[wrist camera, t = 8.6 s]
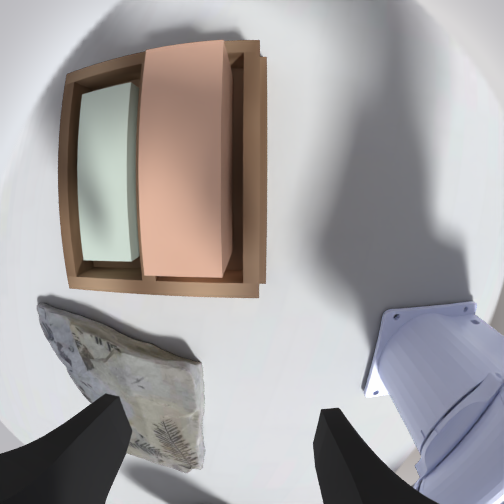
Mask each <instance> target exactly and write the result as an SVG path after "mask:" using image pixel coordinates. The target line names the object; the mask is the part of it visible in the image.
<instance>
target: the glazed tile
mask: <svg viewBox="0 0 504 504" xmlns="http://www.w3.org/2000/svg"><path fill="white" fill-rule="evenodd" d="M138 98H139V88H138V87H137V86H136V85H134V84H133V83H131V82H130V83H125V84H120V85H116V86H112V87H108V88H104V89H100V90H96V91H92V92H89V93H85V94H82V100H81V109H80V120H79V134H78V164H77V177H78V207H79V222H80V233H81V243H82V252H83V259H84V260H92V261H131V262H132V261H133V260H135V259H136V258H138V257H139V256H140V251H139V239H138V224H137V204H136V132H137V112H138Z"/></svg>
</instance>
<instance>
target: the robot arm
mask: <svg viewBox="0 0 504 504" xmlns="http://www.w3.org/2000/svg"><path fill="white" fill-rule="evenodd" d="M464 308H465V309H464ZM476 308H477V304H476V303H475V302H474V301H470V302H462V303H453V304H444V305H435V306H424V307H413V308H400V309H389V310H387V311H385V312H384V314H383V316H382V321H381V326H380V331H379V336H378V340H377V344H376V349H375V353H374V357H373V361H372V365H371V368H370V372H369V376H368V379H367V383H366V386H365V390H364V395H365V397H367V398H369V397H376V396H382V395H388V394H389V395H390V397H391V399H392V401H393V403H394V404H395V406H396V408H397V410H398V412H399V414H400V416H401V418H402V420H403V421H404V423H405V425H406V427H407V429H408V431H409V433H410V435H411V437H412V439H413V441H414V443H415V445H416V447H417V449H418V451H419V453H420V455H421V458H420V460H419V461H418V463H417V464H416V465H415V468H416V470H417V472H418V474H419V476H420V478H419V479H418V480H417V482H416V483H415V485H414V487H411V486H410V485H409V484H407V483H406V482H405V481H404V480H402V479H401V478H400V477H399V476H398V475H396V474H395V473H394V472H393V471H392V470H391V469H390V468H389V467H388V466H387V465H386V464H385V463H384V462H383V461H382V460H381V459H380V458H379V457H378V456H377V455H376V454H375V453H374V452H373V451H372V450H371V448H370V447H369V446H368V445H367V444H366V443H365V442H364V440H363V439H362V438H361V437H360V435H359V434H358V433H357V432H356V430H355V429H354V428H353V426H352V425H351V424H350V422H349V421H348V420H347V418H346V417H345V415H344V414H343V413H342V411H341V410H340V409H339V408H331V409H321V413H320V417H319V421H318V425H317V429H316V433H315V437H314V441H313V449H314V459H315V468H316V472H317V477H318V481H319V486H320V490H321V494H322V499H323V503H324V504H504V336H503V335H501V334H500V333H499V332H498V331H496V330H495V329H494V328H492V327H491V326H490V325H489V324H487V323H486V322H485V321H483V320H482V319H481V318H479V317H478V316H476V315H475V312H476ZM396 314H398V315H397V317H396V318H393V317H394V316H395V315H396ZM376 390H377V391H376ZM375 391H376V392H375ZM131 435H132V428H131V426H130V423H129V421H128V418H127V416H126V413H125V411H124V408H123V405H122V403H121V400H120V397H119V396H115V395H111V394H107V393H105V394H104V395H102V396H101V397H100V398H98V399H97V400H96V401H94V402H93V403H92V404H90V405H89V406H87V407H86V408H85V409H83V410H82V411H81V412H79V413H78V414H77V415H75V416H74V417H72V418H71V419H70V420H68V421H67V422H65V423H64V424H62V425H61V426H59V427H58V428H56V429H54V430H53V431H51V432H50V433H48V434H46V435H45V436H43V437H41V438H39V439H37V440H35V441H33V442H31V443H29V444H27V445H24V446H22V447H19V448H17V449H14V450H11V451H8V452H5V453H1V454H0V504H105V502H106V498H107V496H108V493H109V491H110V488H111V486H112V484H113V482H114V479H115V477H116V475H117V473H118V470H119V468H120V466H121V464H122V461H123V459H124V457H125V455H126V452H127V449H128V446H129V442H130V439H131Z"/></svg>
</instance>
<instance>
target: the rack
mask: <svg viewBox="0 0 504 504" xmlns="http://www.w3.org/2000/svg"><path fill="white" fill-rule="evenodd" d="M224 43H225V47H226V51H227V54H228V58H229V62H230V66H231V70H232V74H233V78H234V98H233V251H232V254H231V257H230V259H229V262H228V264H227V267H226V269H225V272H224V275H223V277H222V278H215V277H175V276H145V275H144V267H143V257H142V245H141V231H140V213H139V180H138V155H139V123H140V106H141V93H142V82H143V72H144V63H145V55H146V51H145V52H140V53H136V54H131V55H127V56H123V57H119V58H115V59H112V60H108V61H105V62H101V63H98V64H95V65H91V66H88V67H85V68H82V69H79V70H77V71H74V72H71V73H68V74H67V75H66V81H65V87H64V94H63V101H62V110H61V119H60V132H59V150H58V194H59V213H60V225H61V236H62V244H63V252H64V259H65V266H66V272H67V278H68V284H69V288H72V289H82V290H94V291H106V292H119V293H134V294H150V295H170V296H193V297H225V298H259V284H266V238H267V57H260V40H237V41H224ZM130 82H131V83H133V84H134V85H136V86H137V87H138V88H139V98H138V112H137V132H136V204H137V224H138V239H139V251H140V256H139V257H138V258H136V259H135V260H133V261H132V262H131V261H92V260H84V259H83V252H82V243H81V233H80V222H79V207H78V177H77V164H78V134H79V120H80V109H81V100H82V94H85V93H89V92H92V91H96V90H100V89H104V88H108V87H112V86H116V85H120V84H125V83H130Z"/></svg>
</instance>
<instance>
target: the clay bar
mask: <svg viewBox="0 0 504 504" xmlns="http://www.w3.org/2000/svg"><path fill="white" fill-rule="evenodd" d="M233 98H234V78H233V74H232V70H231V66H230V62H229V58H228V54H227V51H226V47H225V43H224V40H212V41H201V42H192V43H184V44H177V45H170V46H164V47H158V48H153V49H148V50H146V55H145V63H144V72H143V82H142V93H141V106H140V123H139V155H138V180H139V213H140V231H141V245H142V257H143V267H144V275H145V276H175V277H215V278H222V277H223V275H224V272H225V269H226V267H227V264H228V262H229V259H230V257H231V254H232V251H233Z"/></svg>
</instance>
